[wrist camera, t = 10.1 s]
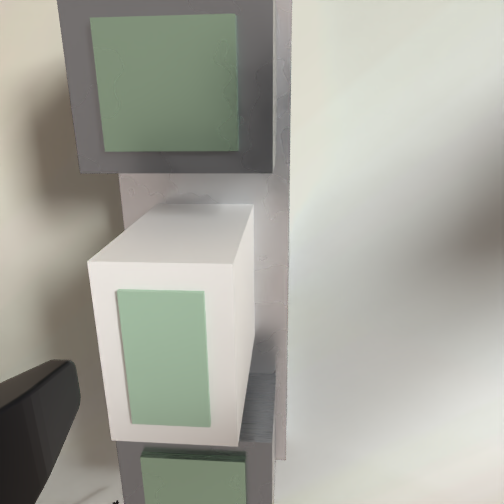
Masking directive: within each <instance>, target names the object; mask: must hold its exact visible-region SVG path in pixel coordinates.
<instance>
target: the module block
mask: <svg viewBox="0 0 504 504" xmlns="http://www.w3.org/2000/svg"><path fill="white" fill-rule="evenodd" d="M87 265H88V272H89V279H90V287H91V294H92V301H93V309H94V316H95V323H96V331H97V338H98V345H99V353H100V360H101V367H102V375H103V382H104V389H105V397H106V404H107V411H108V419H109V426H110V433H111V441H132V442H152V443H172V444H193V445H213V446H233V447H238V442H239V436H240V429H241V422H242V416H243V409H244V403H245V396H246V389H247V383H248V376H249V370H250V363H251V356H252V350H253V343H254V336H255V307H254V216H253V204H157V205H155V206H154V207H153V208H152V209H151V210H149V211H148V212H147V213H146V214H144V215H143V216H142V217H141V218H140V219H138V220H137V221H136V222H135V223H133V224H132V225H131V226H130V227H129V228H127V229H126V230H125V231H124V232H122V233H121V234H120V235H119V236H118V237H116V238H115V239H114V240H113V241H111V242H110V243H109V244H108V245H107V246H105V247H104V248H103V249H102V250H100V251H99V252H98V253H97V254H96V255H94V256H93V257H92V258H91V259H89V260H88V261H87Z"/></svg>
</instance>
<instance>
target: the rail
mask: <svg viewBox="0 0 504 504" xmlns="http://www.w3.org/2000/svg"><path fill="white" fill-rule="evenodd" d="M57 5H58V12H59V20H60V27H61V34H62V42H63V49H64V57H65V64H66V72H67V79H68V87H69V94H70V102H71V109H72V117H73V124H74V131H75V139H76V146H77V154H78V161H79V169H80V173H118V175H119V184H120V194H121V203H122V213H123V222H124V231H125V230H126V229H127V228H129V227H130V226H131V225H132V224H133V223H135V222H136V221H137V220H138V219H140V218H141V217H142V216H143V215H144V214H146V213H147V212H148V211H149V210H151V209H152V208H153V207H154V206H155V205H157V204H253V216H254V307H255V336H254V343H253V350H252V356H251V363H250V370H249V376H248V383H247V389H246V396H245V403H244V409H243V416H242V422H241V429H240V436H239V442H238V447H233V446H213V445H193V444H172V443H152V442H132V441H116V445H117V452H118V460H119V467H120V475H121V482H122V490H123V497H124V504H274V485H275V462H276V460H286V398H287V326H288V253H289V181H290V108H291V35H292V0H57Z"/></svg>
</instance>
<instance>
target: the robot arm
mask: <svg viewBox="0 0 504 504" xmlns="http://www.w3.org/2000/svg"><path fill="white" fill-rule="evenodd" d="M79 405H80V389H79V383H78V377H77V371H76V367H75V364H74V363H73V362H72V361H71V360H55V359H54V360H50V361H48V362H45V363H43V364H41V365H39V366H37V367H34V368H32V369H30V370H28V371H26V372H24V373H21V374H19V375H17V376H15V377H13V378H10V379H8V380H6V381H4V382H2V383H0V504H35V502H36V501H37V499H38V497H39V495H40V493H41V492H42V490H43V488H44V486H45V484H46V482H47V480H48V478H49V476H50V474H51V472H52V469H53V467H54V465H55V463H56V460H57V458H58V456H59V453H60V451H61V449H62V446H63V444H64V442H65V439H66V437H67V435H68V432H69V430H70V427H71V425H72V423H73V420H74V418H75V416H76V413H77V411H78V409H79Z"/></svg>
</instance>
